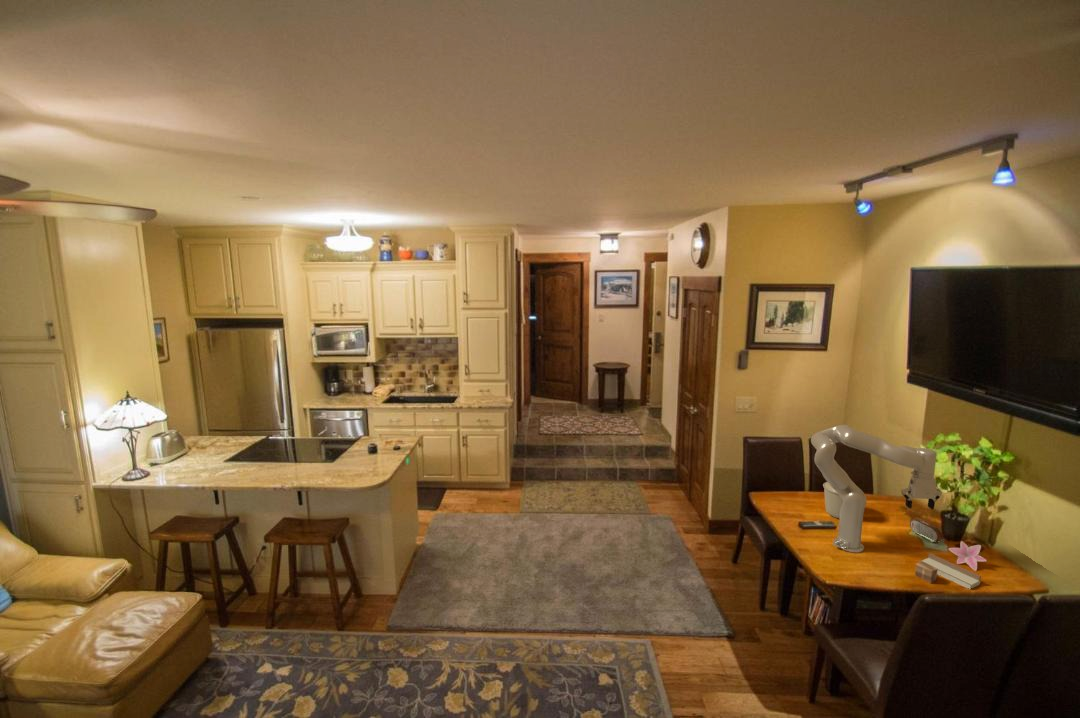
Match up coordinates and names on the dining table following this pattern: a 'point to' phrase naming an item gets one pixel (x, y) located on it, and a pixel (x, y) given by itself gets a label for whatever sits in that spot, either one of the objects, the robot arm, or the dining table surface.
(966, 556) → the lily
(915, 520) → the tin
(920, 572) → the crate
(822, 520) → the dining table surface
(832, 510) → the canister
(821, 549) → the dining table surface
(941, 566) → the bar
